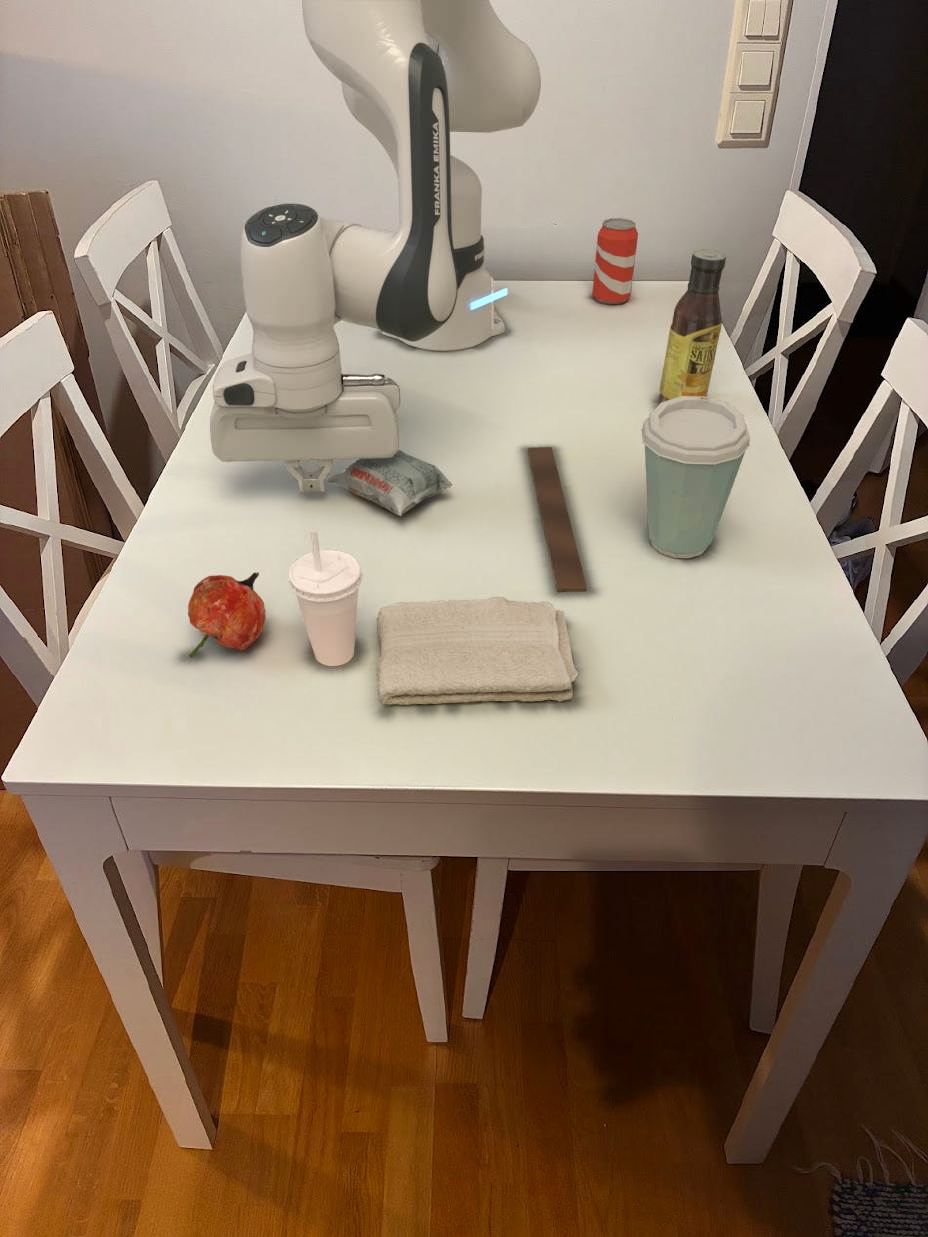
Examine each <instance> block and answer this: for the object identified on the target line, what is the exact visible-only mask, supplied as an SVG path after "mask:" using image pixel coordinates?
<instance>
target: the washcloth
mask: <svg viewBox="0 0 928 1237" xmlns="http://www.w3.org/2000/svg"><path fill="white" fill-rule="evenodd" d="M376 623H377V633H378V638H379V643H380V656H379V658H378V659H377V660H378V664H377V674H376V675H377V681H378V684H377V694H378V699H379V700H380V701H381V703H382V705H388V706H389V705H400V706H401V705H406V706H407V705H408V706H409V705H428V704H432V705H433V704H434V705H439V704H447V703H448V704H450V703H451V704H455V703H456V704H457V703H471V702H479V701H481V702H489V701H491V702H494V701H495V702H498V701H501V702H513V701H521V702H523V703H524V702H536V701H537V702H543V701H545V700H547V701H548V700H553V701H558V702H563V701H570V700H572V699H573V695H574V692H573V690H574V689H573V683H574V681H575V680H576V679H577V678H578V677H579V675H580V673H579V672H578V671H577V669H576V668H575V664H574V659H573V653H572V647H571V642H570V637H569V632H568V631H569V630H568V627H567V621H566V616H565V611H564V610H561V609H555V607H554V605H553V604H552V603H551V602H547V601H517V600H509V599H507V598H505V596H493V597H489V598H480V599H479V598H478V599H447V600H446V599H441V600H432V601H408V602H406V601H405V602H404V601H401V602H400V601H399V602H395V603H391V604H389V605H386V606H383V607H381V608H379V611H378V613H377V618H376Z"/></svg>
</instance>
